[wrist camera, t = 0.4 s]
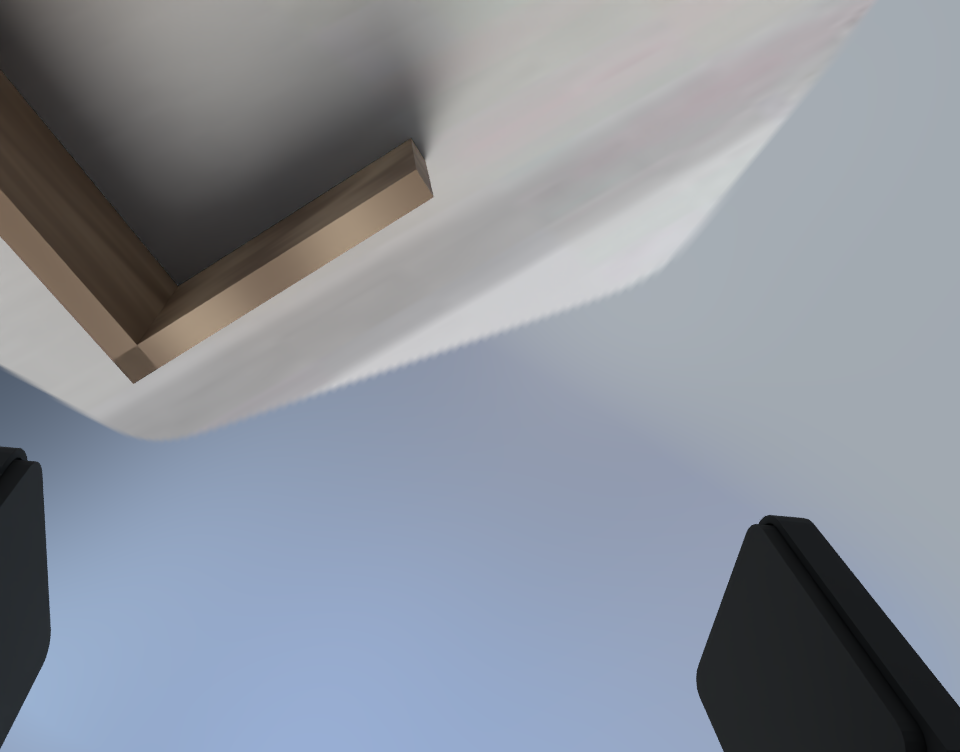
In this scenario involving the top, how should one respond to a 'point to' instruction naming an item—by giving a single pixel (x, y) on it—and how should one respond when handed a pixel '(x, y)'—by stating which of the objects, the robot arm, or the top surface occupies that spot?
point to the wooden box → (136, 273)
